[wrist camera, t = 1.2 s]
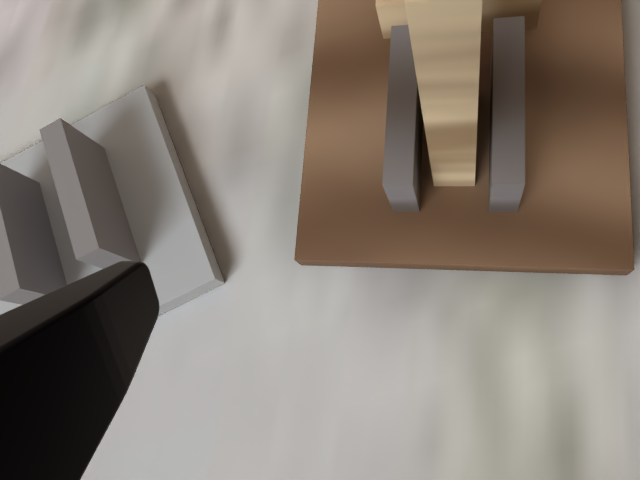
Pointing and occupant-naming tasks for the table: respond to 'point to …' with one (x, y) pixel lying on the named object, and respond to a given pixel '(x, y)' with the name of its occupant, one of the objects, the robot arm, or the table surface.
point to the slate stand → (102, 207)
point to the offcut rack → (491, 150)
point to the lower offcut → (495, 4)
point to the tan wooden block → (448, 83)
